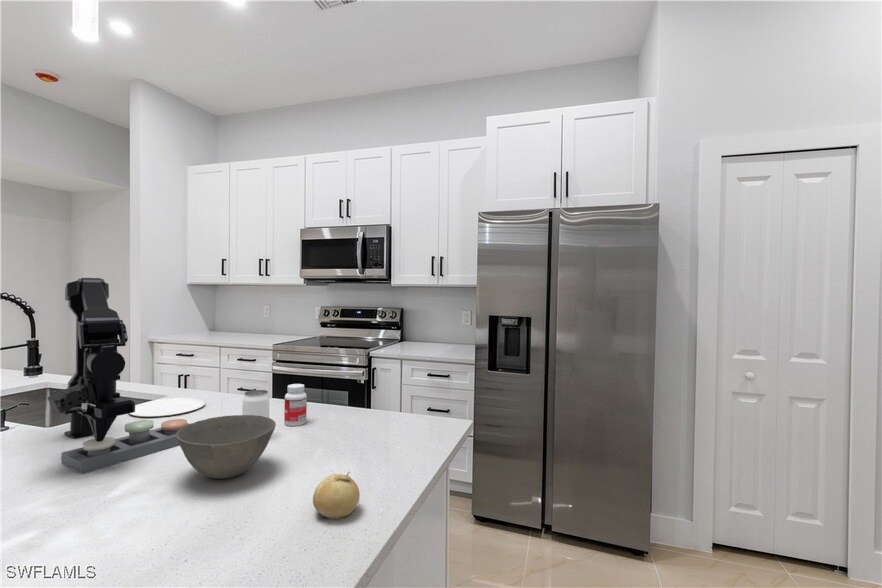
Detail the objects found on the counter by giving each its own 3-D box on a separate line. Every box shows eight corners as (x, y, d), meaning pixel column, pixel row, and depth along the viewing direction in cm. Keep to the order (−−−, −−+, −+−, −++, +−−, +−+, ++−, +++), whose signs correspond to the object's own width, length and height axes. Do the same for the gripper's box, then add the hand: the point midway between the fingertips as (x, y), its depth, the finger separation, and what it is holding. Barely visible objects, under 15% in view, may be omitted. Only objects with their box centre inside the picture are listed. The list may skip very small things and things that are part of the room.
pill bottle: (286, 420, 126) (287, 383, 126) (307, 419, 127) (308, 383, 127) (282, 427, 120) (282, 388, 120) (304, 426, 121) (305, 387, 121)
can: (258, 443, 107) (259, 396, 107) (236, 441, 108) (237, 394, 108) (273, 434, 113) (274, 390, 113) (252, 432, 114) (253, 388, 114)
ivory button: (78, 461, 93) (78, 442, 93) (108, 453, 98) (108, 435, 98) (89, 466, 90) (89, 447, 90) (119, 458, 95) (119, 439, 95)
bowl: (170, 504, 76) (170, 449, 76) (179, 465, 93) (180, 420, 93) (280, 484, 85) (280, 434, 85) (270, 451, 102) (271, 410, 101)
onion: (315, 528, 70) (316, 486, 69) (310, 506, 77) (310, 467, 77) (363, 519, 73) (364, 478, 73) (354, 498, 80) (354, 460, 80)
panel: (61, 463, 92) (61, 452, 92) (183, 430, 115) (183, 421, 115) (81, 474, 87) (81, 462, 87) (204, 437, 110) (204, 428, 110)
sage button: (120, 442, 100) (120, 424, 100) (146, 435, 105) (146, 418, 105) (131, 447, 97) (132, 429, 97) (158, 439, 102) (158, 422, 102)
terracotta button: (156, 439, 107) (156, 423, 107) (179, 433, 112) (179, 417, 112) (168, 444, 104) (168, 427, 104) (191, 437, 109) (191, 421, 109)
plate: (110, 417, 127) (110, 412, 127) (166, 399, 147) (166, 396, 147) (170, 421, 123) (170, 417, 123) (219, 403, 144) (219, 399, 144)
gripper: (36, 372, 92) (35, 443, 92) (72, 383, 82) (71, 462, 83) (97, 364, 101) (96, 429, 102) (136, 374, 92) (135, 445, 92)
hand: (99, 441), depth 94 cm, fingers closed, pressing on ivory button
